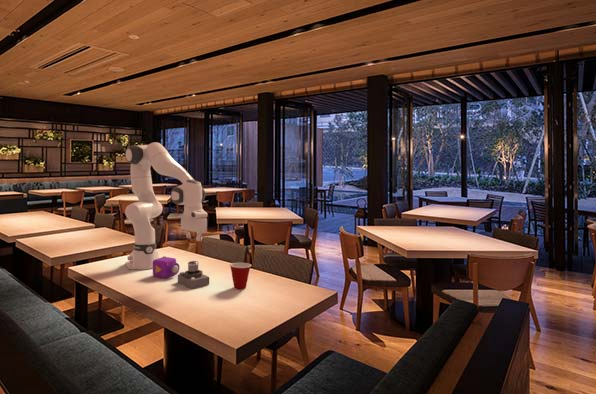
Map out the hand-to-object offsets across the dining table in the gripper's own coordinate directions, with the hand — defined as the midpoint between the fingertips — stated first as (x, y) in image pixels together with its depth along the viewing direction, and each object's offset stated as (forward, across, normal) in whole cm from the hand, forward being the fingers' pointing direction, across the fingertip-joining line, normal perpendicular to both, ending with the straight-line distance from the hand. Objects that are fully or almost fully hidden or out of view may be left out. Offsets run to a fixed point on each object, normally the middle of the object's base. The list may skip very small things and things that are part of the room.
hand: (193, 239), depth 188 cm
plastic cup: (+23, +21, +14) cm, 34 cm away
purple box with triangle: (+23, -21, -4) cm, 31 cm away
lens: (+19, 0, 0) cm, 19 cm away
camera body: (+23, 0, 0) cm, 23 cm away
